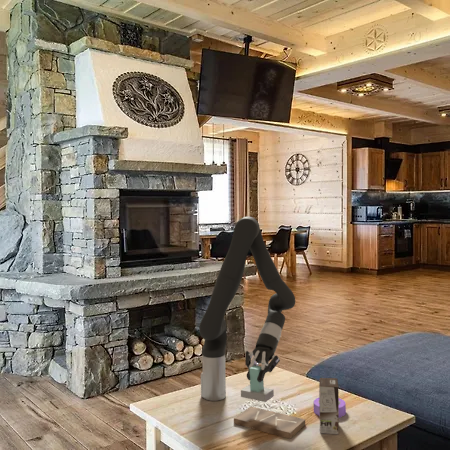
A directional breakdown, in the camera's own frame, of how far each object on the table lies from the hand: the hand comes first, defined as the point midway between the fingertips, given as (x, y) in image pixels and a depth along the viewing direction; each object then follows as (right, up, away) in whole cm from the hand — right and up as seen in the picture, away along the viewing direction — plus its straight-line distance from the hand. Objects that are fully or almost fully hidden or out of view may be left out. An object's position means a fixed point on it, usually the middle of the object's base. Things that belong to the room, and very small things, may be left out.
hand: (253, 380), depth 176 cm
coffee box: (+26, -16, -4) cm, 30 cm away
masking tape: (+29, -15, +9) cm, 34 cm away
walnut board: (+5, -16, 0) cm, 16 cm away
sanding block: (+1, -7, +2) cm, 7 cm away
